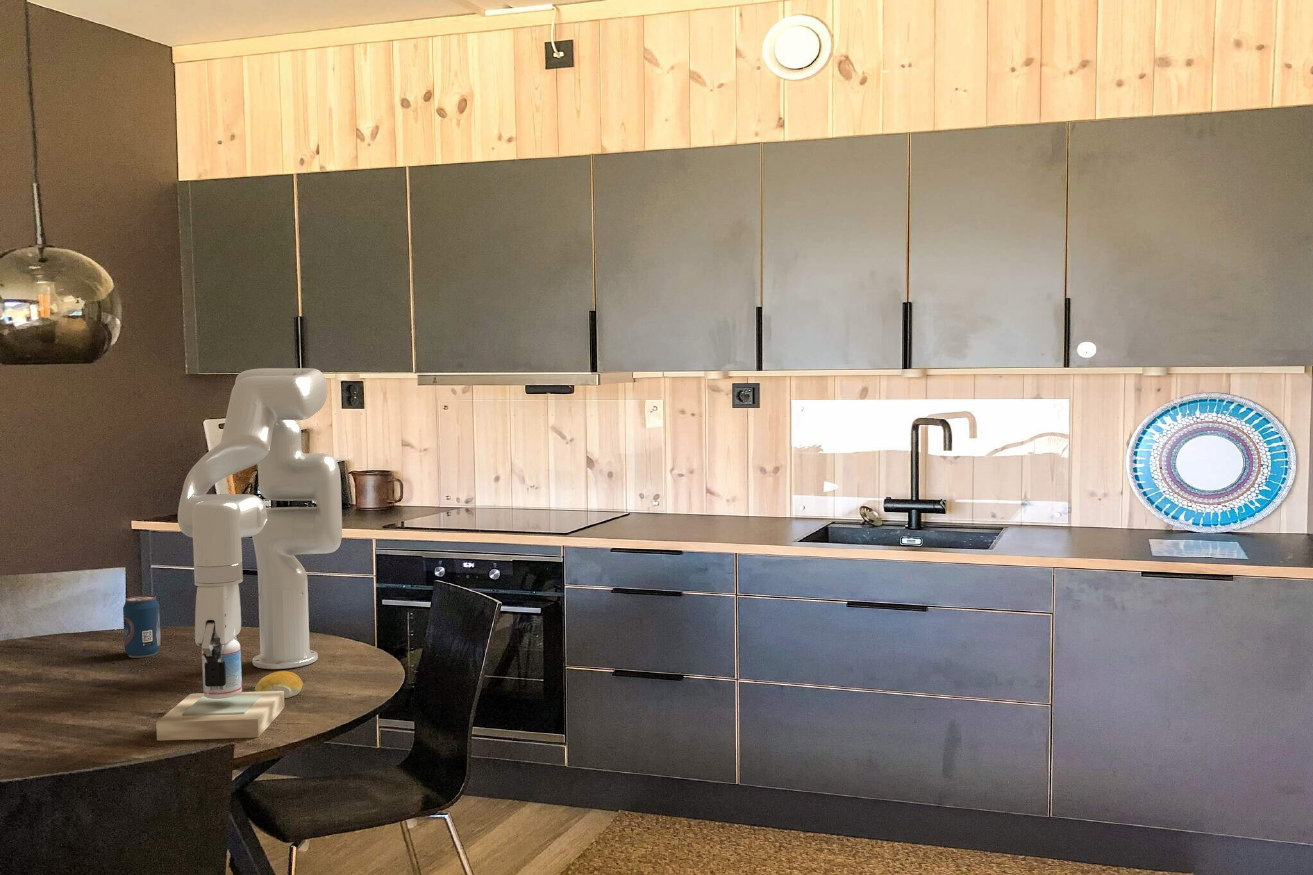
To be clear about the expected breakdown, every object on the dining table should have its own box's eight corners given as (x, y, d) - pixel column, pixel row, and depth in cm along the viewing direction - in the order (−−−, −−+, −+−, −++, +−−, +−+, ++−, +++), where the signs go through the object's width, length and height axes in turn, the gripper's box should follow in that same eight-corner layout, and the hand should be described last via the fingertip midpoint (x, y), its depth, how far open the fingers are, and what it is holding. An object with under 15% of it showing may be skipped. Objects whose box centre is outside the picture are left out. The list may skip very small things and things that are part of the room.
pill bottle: (250, 691, 190) (247, 626, 189) (222, 701, 185) (219, 634, 184) (223, 687, 193) (221, 623, 192) (195, 697, 187) (192, 631, 186)
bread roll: (303, 685, 212) (303, 664, 212) (300, 698, 203) (299, 677, 203) (257, 688, 210) (257, 667, 210) (252, 702, 201) (251, 680, 201)
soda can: (120, 654, 237) (118, 597, 236) (155, 648, 241) (152, 593, 240) (130, 660, 231) (128, 602, 231) (165, 654, 236) (163, 597, 235)
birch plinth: (191, 710, 196) (190, 691, 196) (284, 707, 197) (283, 689, 197) (156, 740, 180) (156, 720, 180) (258, 737, 181) (257, 717, 181)
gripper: (212, 565, 196) (216, 667, 197) (177, 584, 178) (181, 695, 180) (256, 564, 196) (259, 665, 197) (225, 583, 179) (229, 694, 180)
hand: (222, 679), depth 188 cm, fingers closed on pill bottle, 6 cm apart
